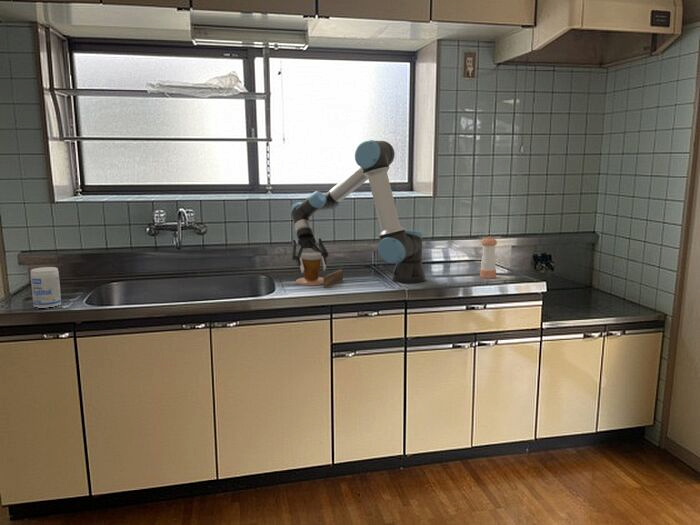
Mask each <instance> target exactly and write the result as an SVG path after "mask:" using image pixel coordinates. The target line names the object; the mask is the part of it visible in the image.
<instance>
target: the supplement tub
mask: <svg viewBox="0 0 700 525" xmlns="http://www.w3.org/2000/svg"><path fill="white" fill-rule="evenodd" d="M60 284H61V283H60V272H59V268H58V267H55V266H43V267H36V268H32V269H30V285H31V295H32V305H33V307H34V308H35V307H38V308H46V307H53V308H56V307H55V306H57V307H59V306H61V305H62V296H61V295H62V294H61V285H60ZM58 305H59V306H58ZM38 308H37V309H38Z"/></svg>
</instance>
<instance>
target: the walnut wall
mask: <svg viewBox="0 0 700 525" xmlns="http://www.w3.org/2000/svg"><path fill="white" fill-rule="evenodd" d="M323 278H324V284H323V288H325V289H327V288H330V287H331V286H335V285H336V284H338V283H340V281H341V282H343V281H344V270H343V269H338V270H336V271H334V272H331V273H329V274H325V275H323Z"/></svg>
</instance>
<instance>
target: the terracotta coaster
mask: <svg viewBox="0 0 700 525" xmlns="http://www.w3.org/2000/svg"><path fill="white" fill-rule="evenodd" d="M295 284H297V285H301V286H321V284H322V285H324V277H321V276H318V279H317V280H306V279H304V277H300V278H297V279H296V280H295Z"/></svg>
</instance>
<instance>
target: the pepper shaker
mask: <svg viewBox="0 0 700 525" xmlns="http://www.w3.org/2000/svg"><path fill="white" fill-rule="evenodd" d="M497 244H498V242H497V240H496V239H495V238H492V236H487V237H486V238H483V239H482V240H481V245H482V256H481V261H480V269H479V277H480V278H482V279H495V278H496V276H497V270H496V264H497V263H496V245H497Z"/></svg>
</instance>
